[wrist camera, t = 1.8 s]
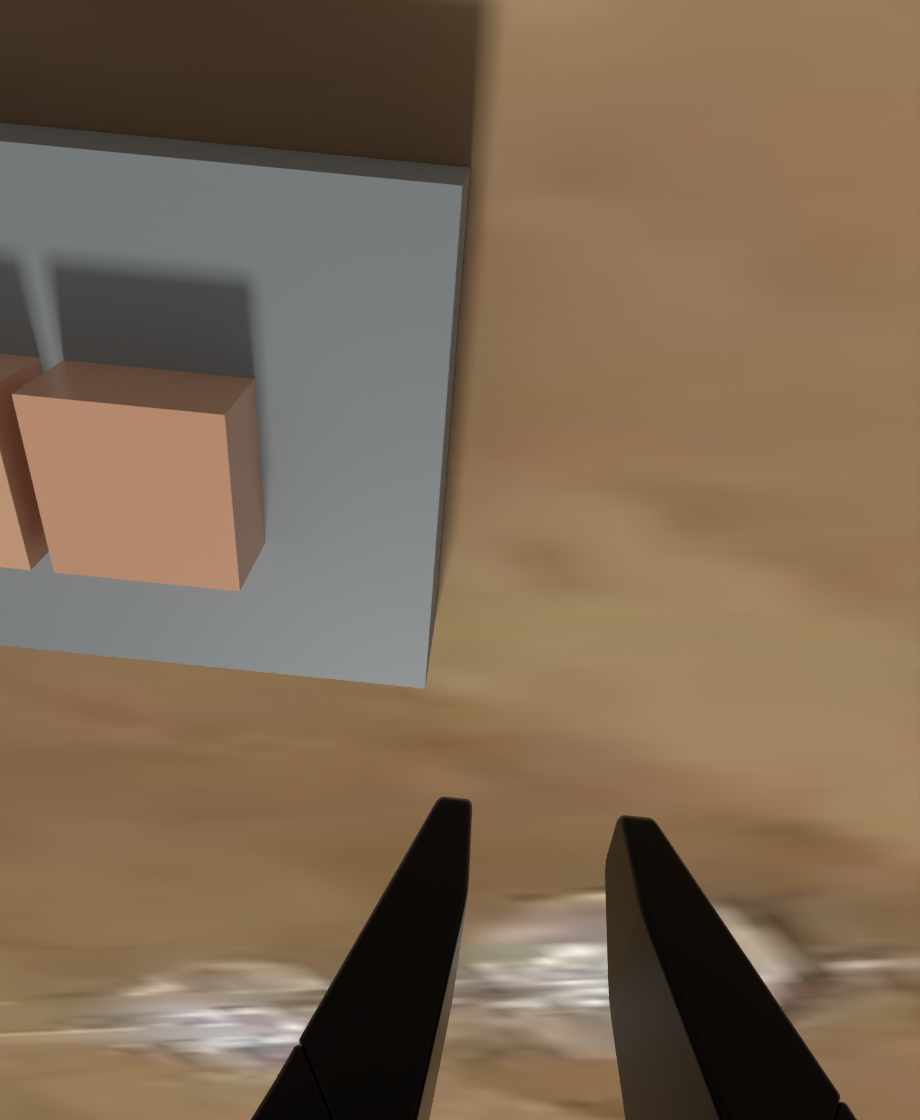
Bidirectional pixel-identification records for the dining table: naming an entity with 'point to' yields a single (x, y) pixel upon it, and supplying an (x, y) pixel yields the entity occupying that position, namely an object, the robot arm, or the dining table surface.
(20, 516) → the tile
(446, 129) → the dining table surface
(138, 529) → the tile
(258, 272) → the grey base plate
